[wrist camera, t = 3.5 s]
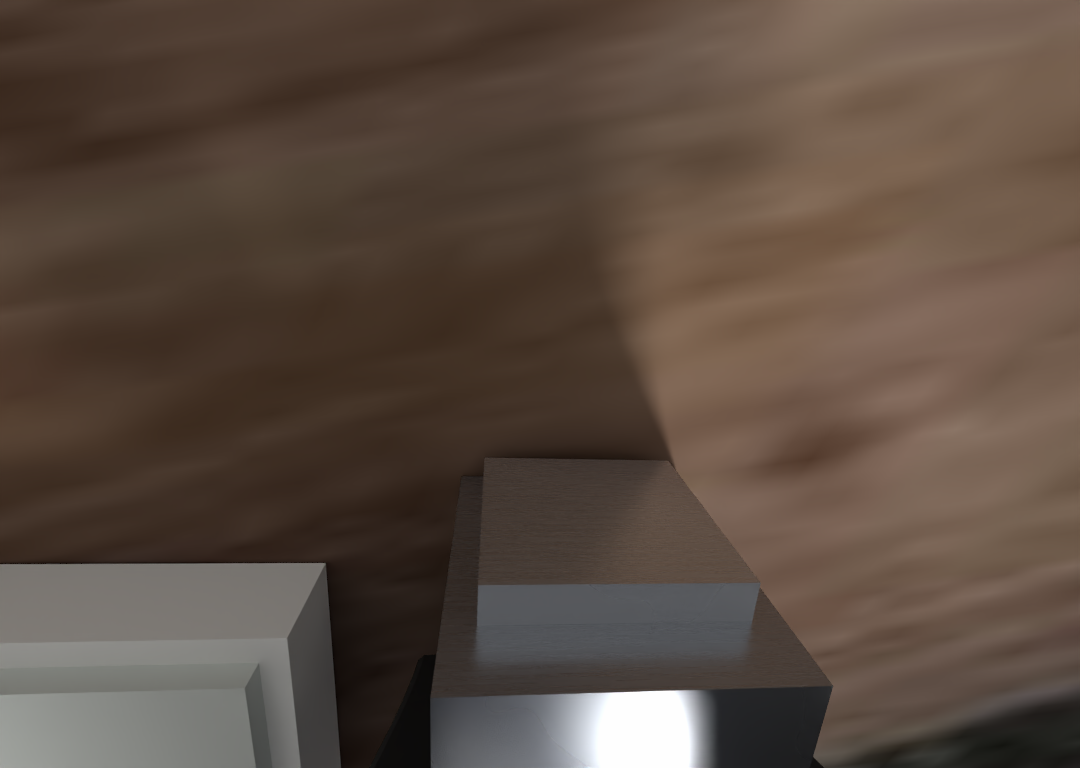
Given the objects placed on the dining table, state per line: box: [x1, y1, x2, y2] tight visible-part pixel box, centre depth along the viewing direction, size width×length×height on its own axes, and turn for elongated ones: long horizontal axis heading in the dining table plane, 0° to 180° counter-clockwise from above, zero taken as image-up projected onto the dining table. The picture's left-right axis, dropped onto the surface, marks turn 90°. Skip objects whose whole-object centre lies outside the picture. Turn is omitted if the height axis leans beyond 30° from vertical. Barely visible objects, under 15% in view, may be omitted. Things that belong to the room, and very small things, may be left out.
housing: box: [430, 458, 833, 768], centre depth 9 cm, size 9×4×5 cm, turn 176°
